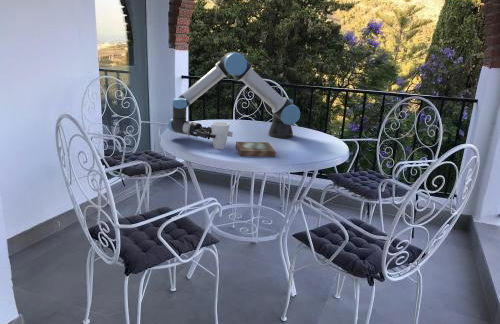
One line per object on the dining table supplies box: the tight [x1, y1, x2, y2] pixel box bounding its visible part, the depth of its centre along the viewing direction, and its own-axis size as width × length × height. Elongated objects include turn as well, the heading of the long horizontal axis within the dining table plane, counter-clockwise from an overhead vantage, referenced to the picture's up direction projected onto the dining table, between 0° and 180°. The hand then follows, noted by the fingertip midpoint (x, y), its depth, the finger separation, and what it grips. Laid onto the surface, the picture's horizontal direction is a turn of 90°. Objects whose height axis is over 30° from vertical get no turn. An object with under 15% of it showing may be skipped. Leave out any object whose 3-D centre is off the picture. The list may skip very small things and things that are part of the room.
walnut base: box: [235, 141, 276, 158], centre depth 215 cm, size 18×18×3 cm
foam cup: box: [210, 121, 230, 150], centre depth 218 cm, size 10×9×13 cm
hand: (226, 135), depth 215 cm, fingers closed on foam cup, 9 cm apart
